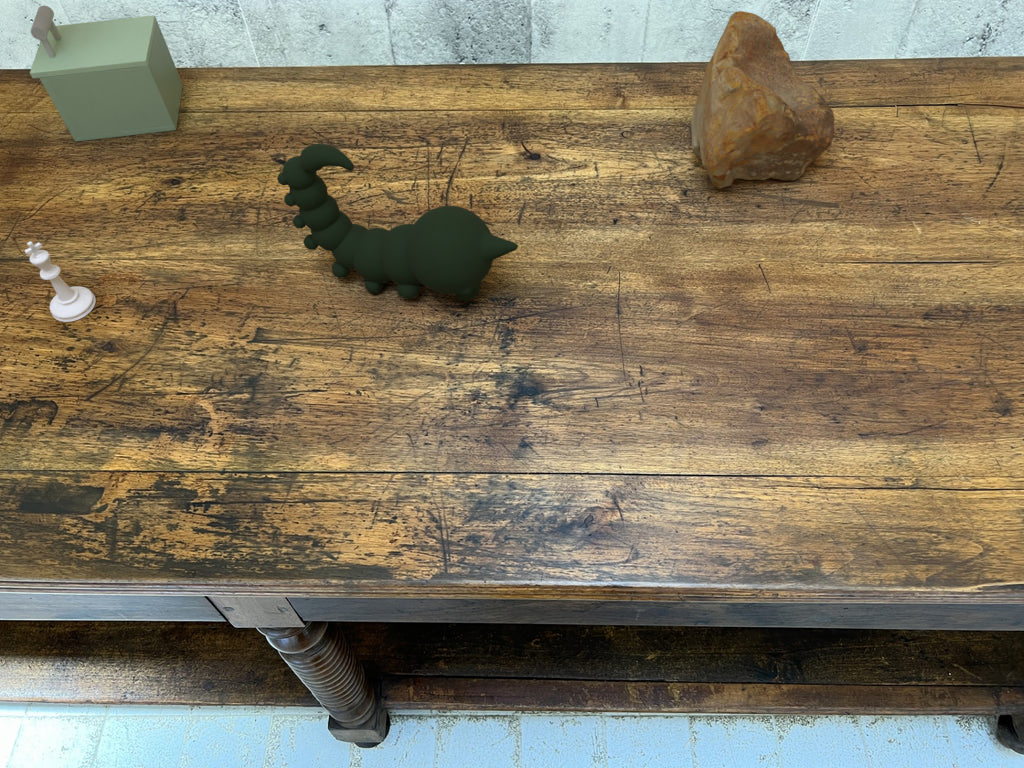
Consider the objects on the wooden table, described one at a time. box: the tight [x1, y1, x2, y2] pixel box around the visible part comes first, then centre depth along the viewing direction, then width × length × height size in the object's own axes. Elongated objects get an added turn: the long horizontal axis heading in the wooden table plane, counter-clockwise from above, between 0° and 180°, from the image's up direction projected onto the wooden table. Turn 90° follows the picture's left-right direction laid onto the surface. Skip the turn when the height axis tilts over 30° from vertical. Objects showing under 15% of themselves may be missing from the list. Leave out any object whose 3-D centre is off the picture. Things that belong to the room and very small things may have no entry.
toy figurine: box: [276, 143, 519, 302], centre depth 87 cm, size 9×19×25 cm
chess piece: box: [24, 240, 97, 323], centre depth 90 cm, size 5×5×10 cm
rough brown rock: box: [690, 10, 835, 189], centre depth 100 cm, size 23×17×15 cm
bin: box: [39, 21, 184, 143], centre depth 111 cm, size 14×11×10 cm
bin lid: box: [29, 5, 158, 79], centre depth 105 cm, size 14×11×5 cm
